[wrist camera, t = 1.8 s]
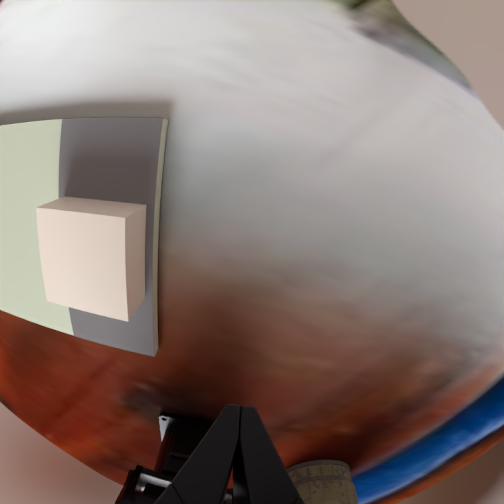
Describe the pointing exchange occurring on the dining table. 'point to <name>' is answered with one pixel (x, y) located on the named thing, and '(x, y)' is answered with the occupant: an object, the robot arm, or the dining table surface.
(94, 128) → the mats
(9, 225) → the board
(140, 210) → the cream block
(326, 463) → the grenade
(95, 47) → the dining table surface
